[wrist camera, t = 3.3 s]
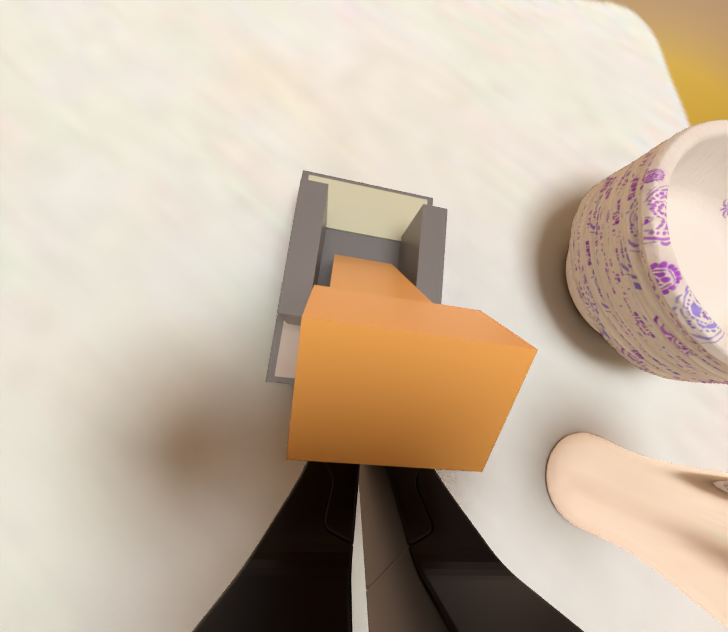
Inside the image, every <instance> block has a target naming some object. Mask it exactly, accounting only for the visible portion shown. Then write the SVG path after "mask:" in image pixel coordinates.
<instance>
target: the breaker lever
mask: <svg viewBox="0 0 728 632" xmlns="http://www.w3.org/2000/svg"><path fill="white" fill-rule="evenodd" d="M537 350H538V349H536V348H535V347H533V346H532V345H530V344H529V343H527V342H526V341H524V340H523V339H521V338H520V337H518V336H517V335H516V334H514V333H513V332H511V331H510V330H508V329H507V328H505V327H504V326H502V325H501V324H499V323H498V322H496V321H495V320H494V319H492V318H491V317H489V316H488V315H486V314H485V313H483V312H482V311H480V310H474V309H467V308H461V307H454V306H448V305H442V304H435V303H432V302H431V301H430V300H429V299H428V298H427V297H426V296H425V295H424V294H423V293H422V292H421V291H420V290H419V289H418V288H417V287H415V286H414V285H413V284H412V283H411V282H410V281H409V280H408V279H407V278H406V277H405V276H404V275H403V274H402V273H401V272H400V271H399V270H398V269H397V268H396V267H394V266H393V265H392V264H389V263H383V262H377V261H371V260H366V259H360V258H354V257H348V256H343V255H337V254H335V256H334V262H333V269H332V275H331V281H330V287H326V286H320V285H314V286H313V289H312V292H311V294H310V297H309V299H308V302H307V305H306V307H305V310H304V312H303V315H302V319H301V328H300V337H299V346H298V355H297V364H296V373H295V383H294V392H293V401H292V410H291V419H290V428H289V437H288V447H287V456H286V459H288V460H303V461H319V462H335V463H351V464H366V465H382V466H398V467H414V468H430V469H445V470H461V471H477V472H482V471H483V469H484V467H485V464H486V462H487V460H488V458H489V456H490V453H491V451H492V449H493V447H494V445H495V442H496V440H497V438H498V436H499V434H500V431H501V429H502V427H503V425H504V423H505V421H506V418H507V416H508V414H509V412H510V410H511V407H512V405H513V403H514V401H515V399H516V396H517V394H518V392H519V390H520V388H521V385H522V383H523V381H524V379H525V377H526V375H527V372H528V370H529V368H530V366H531V364H532V361H533V359H534V357H535V355H536V353H537Z"/></svg>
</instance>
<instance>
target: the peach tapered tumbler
mask: <svg viewBox="0 0 728 632" xmlns="http://www.w3.org/2000/svg"><path fill="white" fill-rule="evenodd" d="M546 480H547V488H548V492H549V495H550V498H551V500H552V502H553V504H554V506H555V508H556V509H557V510H558V512H559V513H560V514H561V515H562V516H563V517H564V518H565V519H566V520H567V521H568V522H570V523H571V524H573V525H575V526H576V527H578V528H581V529H583V530H585V531H587V532H589V533H592V534H594V535H596V536H598V537H601V538H603V539H605V540H607V541H609V542H611V543H613V544H615V545H617V546H619V547H621V548H622V549H624V550H626V551H628V552H629V553H631V554H632V555H634V556H635V557H637V558H638V559H640V560H641V561H643V562H644V563H645V564H647V565H648V566H650V567H651V568H652V569H654V570H655V571H656V572H657V573H659V574H660V575H661V576H662V577H664V578H665V579H666V580H668V581H669V582H670V583H671V584H673V585H674V586H675V587H676V588H678V589H679V590H680V591H681V592H682V593H684V594H685V595H686V596H687V597H689V598H690V599H691V600H692V601H694V602H695V603H696V604H697V605H698V606H700V607H701V608H702V609H703V610H705V611H706V612H707V613H708V614H709V615H711V616H712V617H713V618H714V619H716V620H717V621H718V622H719V623H721V624H722V625H723V626H724V627H726V628H727V629H728V472H723V471H717V470H710V469H704V468H697V467H691V466H686V465H680V464H675V463H669V462H664V461H660V460H656V459H652V458H649V457H645V456H643V455H640V454H637V453H634V452H631V451H629V450H627V449H624V448H622V447H620V446H618V445H616V444H614V443H612V442H610V441H607V440H605V439H603V438H601V437H599V436H596V435H593V434H589V433H574V434H570V435H568V436H566V437H564V438H563V439H562V440H561V441H559V442H558V444H557V445H556V446H555V447H554V449H553V451H552V452H551V455H550V457H549V460H548V464H547V471H546Z"/></svg>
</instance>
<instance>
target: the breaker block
mask: <svg viewBox="0 0 728 632" xmlns="http://www.w3.org/2000/svg"><path fill="white" fill-rule="evenodd" d="M432 204H433V198H430V197H425V196H420V195H416V194H411V193H406V192H402V191H397V190H392V189H388V188H383V187H378V186H374V185H369V184H365V183H360V182H355V181H351V180H346V179H341V178H337V177H332V176H327V175H323V174H318V173H313V172H309V171H304V170H303V173H302V178H301V181H300V187H299V192H298V198H297V204H296V209H295V215H294V221H293V226H292V232H291V238H290V243H289V249H288V254H287V260H286V266H285V271H284V277H283V283H282V288H281V294H280V300H279V305H278V311H277V313H278V314H277V320H276V326H275V331H274V337H273V343H272V348H271V354H270V360H269V365H268V371H267V377H266V381H268V382H278V383H288V384H294V383H295V373H296V364H297V355H298V346H299V337H300V328H301V319H302V315H303V312H304V310H305V307H306V305H307V302H308V299H309V297H310V294H311V292H312V289H313V286H314V285H320V286H326V287H330V281H331V275H332V269H333V262H334V256H335V254H337V255H343V256H348V257H354V258H360V259H366V260H371V261H377V262H383V263H389V264H392V265H393V266H394V267H396V268H397V269H398V270H399V271H400V272H401V273H402V274H403V275H404V276H405V277H406V278H407V279H408V280H409V281H410V282H411V283H412V284H413V285H414V286H415V287H417V288H418V289H419V290H420V291H421V292H422V293H423V294H424V295H425V296H426V297H427V298H428V299H429V300H430V301H431V302H432V303H435V304H441V298H442V283H443V268H444V253H445V238H446V223H447V209H444V208H440V207H435V206H432Z"/></svg>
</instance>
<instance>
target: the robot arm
mask: <svg viewBox="0 0 728 632" xmlns="http://www.w3.org/2000/svg"><path fill="white" fill-rule="evenodd" d="M358 483H359V490H360V505H361V520H362V535H363V550H364V565H365V580H366V589H367V591H366V597H367V612H368V627H369V632H584V631H583V630H581V629H580V628H579V627H578V626H576V625H575V624H574V623H573V622H571V621H570V620H569V619H568V618H566V617H565V616H564V615H563V614H562V613H560V612H559V611H558V610H557V609H555V608H554V607H553V606H552V605H550V604H549V603H548V602H547V601H545V600H544V599H543V598H542V597H540V596H539V595H538V594H537V593H536V592H534V591H533V590H532V589H531V588H529V587H528V586H527V585H526V584H524V583H523V582H522V581H521V580H519V579H518V578H517V577H516V576H515V575H514V574H513V573H512V572H511V571H510V570H509V569H508V568H507V567H506V566H505V565H504V564H503V563H502V562H501V561H500V560H499V559H498V557H497V556H496V555H495V554H494V552H493V551H492V550H491V549H490V547H489V546H488V545H487V543H486V542H485V540H484V539H483V538H482V536H481V535H480V534H479V532H478V531H477V529H476V528H475V527H474V525H473V524H472V523H471V521H470V520H469V519H468V517H467V516H466V514H465V513H464V512H463V510H462V509H461V508H460V506H459V505H458V503H457V502H456V501H455V499H454V498H453V496H452V495H451V494H450V492H449V491H448V489H447V488H446V486H445V485H444V483H443V482H442V480H441V479H440V477H439V476H438V474H437V472H436V471H435V469H430V468H414V467H398V466H382V465H366V464H351V463H335V462H319V461H307V463H306V465H305V467H304V469H303V471H302V473H301V475H300V477H299V478H298V480H297V482H296V484H295V485H294V487H293V489H292V490H291V492H290V494H289V495H288V497H287V499H286V500H285V502H284V504H283V505H282V507H281V508H280V510H279V512H278V513H277V515H276V516H275V518H274V520H273V521H272V523H271V524H270V526H269V528H268V529H267V531H266V532H265V534H264V536H263V537H262V539H261V540H260V542H259V544H258V545H257V547H256V548H255V550H254V551H253V553H252V554H251V556H250V557H249V559H248V560H247V562H246V563H245V565H244V566H243V567H242V569H241V570H240V572H239V573H238V574H237V576H236V577H235V578H234V580H233V581H232V582H231V584H230V585H229V586H228V587H227V589H226V590H225V591H224V592H223V594H222V595H221V596H220V597H219V599H218V600H217V601H216V602H215V604H214V605H213V606H212V607H211V609H210V610H209V611H208V612H207V614H206V615H205V616H204V617H203V619H202V620H201V621H200V623H199V624H198V625H197V626H196V628H195V629H194V630H193V631H192V632H352V592H351V572H352V553H353V541H354V530H355V518H356V506H357V494H358Z"/></svg>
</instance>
